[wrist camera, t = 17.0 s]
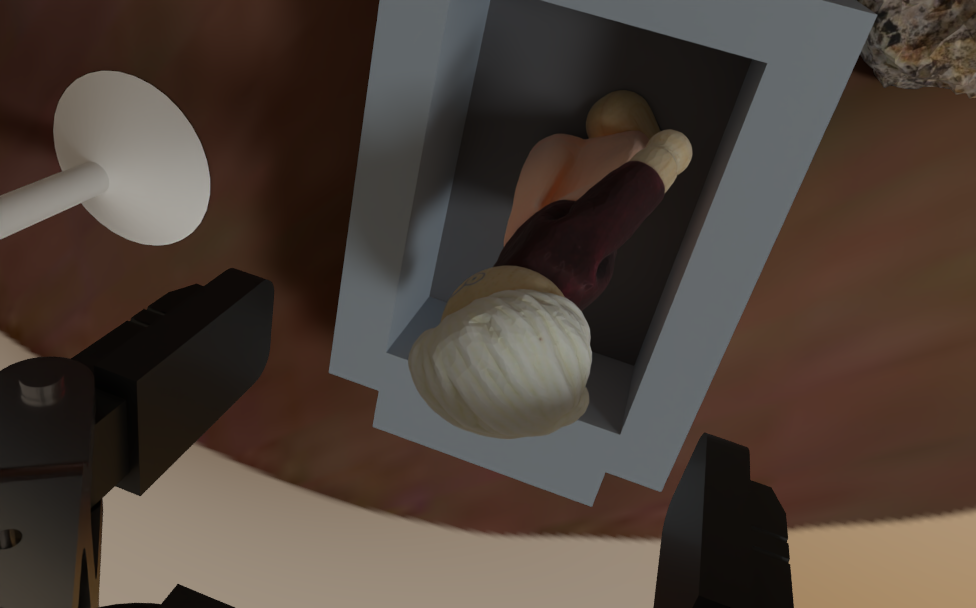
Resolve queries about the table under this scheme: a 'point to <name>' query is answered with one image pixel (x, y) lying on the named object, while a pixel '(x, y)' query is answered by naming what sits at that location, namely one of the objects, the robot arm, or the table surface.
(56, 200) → the champagne flute
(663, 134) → the grandmother figurine
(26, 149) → the table surface
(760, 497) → the robot arm
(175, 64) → the table surface
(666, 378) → the well block
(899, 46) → the mineral rock
